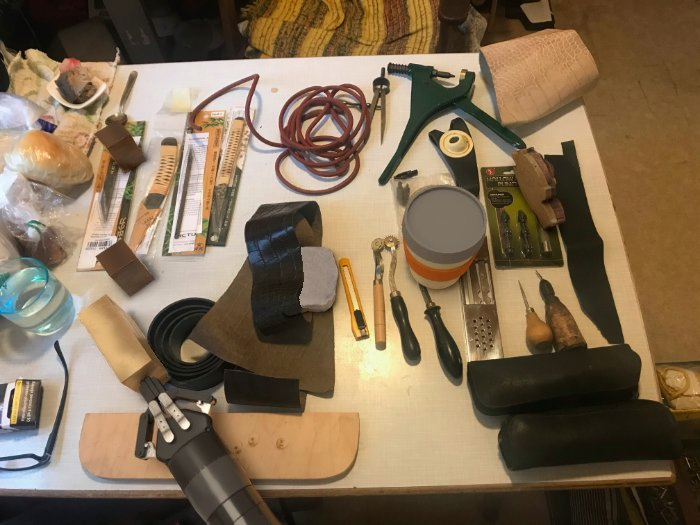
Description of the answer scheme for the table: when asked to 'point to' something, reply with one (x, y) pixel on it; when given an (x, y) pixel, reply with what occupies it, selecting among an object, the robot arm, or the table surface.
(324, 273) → the stone block
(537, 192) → the wooden carving
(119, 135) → the pillar far
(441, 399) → the table surface
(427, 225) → the reusable coffee cup
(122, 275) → the pillar near
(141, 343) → the birch block
